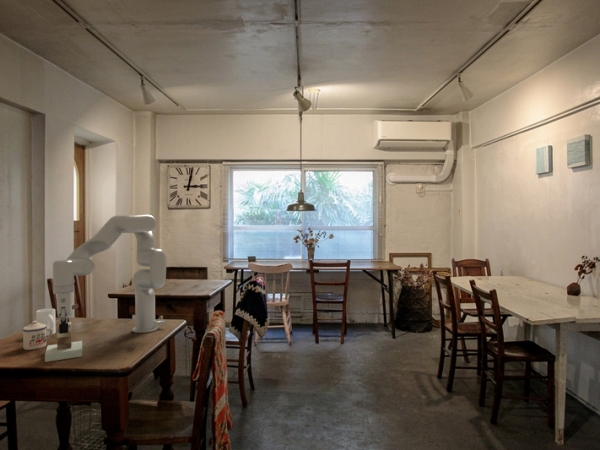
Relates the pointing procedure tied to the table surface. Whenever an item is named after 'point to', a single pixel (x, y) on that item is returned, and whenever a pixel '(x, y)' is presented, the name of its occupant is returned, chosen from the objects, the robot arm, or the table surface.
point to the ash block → (64, 333)
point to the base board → (63, 352)
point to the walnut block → (64, 343)
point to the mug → (46, 319)
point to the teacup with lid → (35, 336)
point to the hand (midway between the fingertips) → (64, 330)
